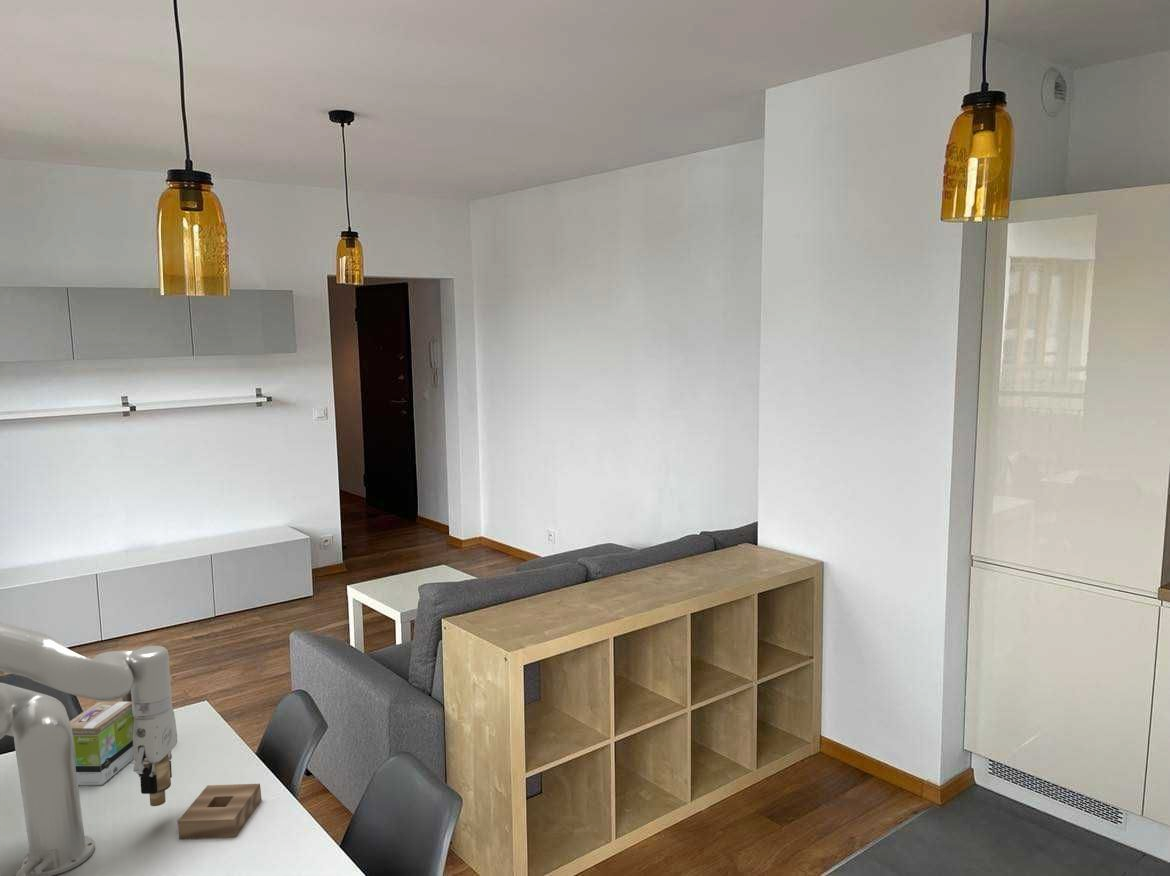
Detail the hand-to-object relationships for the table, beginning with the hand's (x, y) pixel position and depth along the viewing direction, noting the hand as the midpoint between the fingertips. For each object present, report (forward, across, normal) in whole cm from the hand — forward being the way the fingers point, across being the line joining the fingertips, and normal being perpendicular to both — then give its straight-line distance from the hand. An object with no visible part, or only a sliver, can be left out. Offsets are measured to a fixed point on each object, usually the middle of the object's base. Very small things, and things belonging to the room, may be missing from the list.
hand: (156, 784), depth 182 cm
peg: (+4, 0, 0) cm, 4 cm away
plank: (+9, +1, -13) cm, 16 cm away
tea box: (+10, +25, +26) cm, 37 cm away
